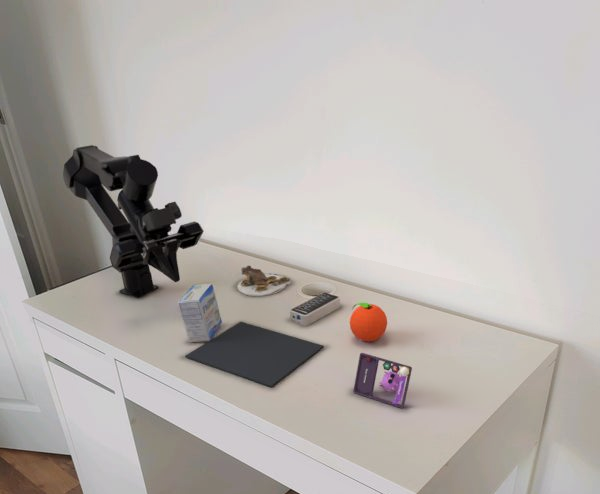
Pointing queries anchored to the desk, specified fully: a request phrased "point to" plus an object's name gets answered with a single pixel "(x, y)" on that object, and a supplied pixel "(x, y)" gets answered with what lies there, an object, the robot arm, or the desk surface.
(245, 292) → the frog figurine
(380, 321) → the clementine
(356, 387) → the game card
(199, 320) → the medicine box
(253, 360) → the mouse mat
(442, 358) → the desk surface
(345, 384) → the desk surface
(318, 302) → the multiport hub
